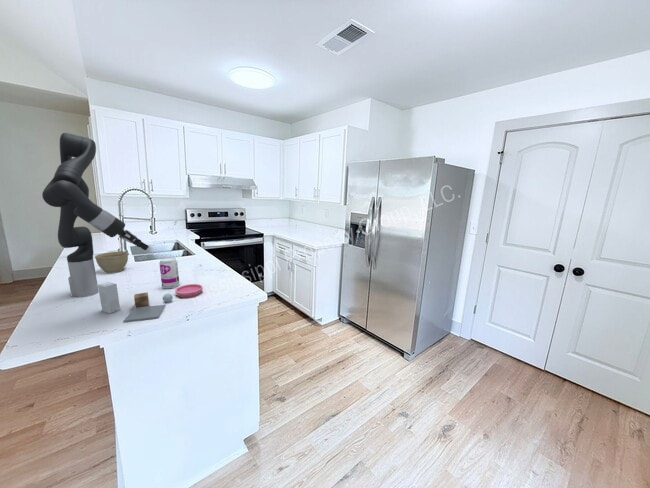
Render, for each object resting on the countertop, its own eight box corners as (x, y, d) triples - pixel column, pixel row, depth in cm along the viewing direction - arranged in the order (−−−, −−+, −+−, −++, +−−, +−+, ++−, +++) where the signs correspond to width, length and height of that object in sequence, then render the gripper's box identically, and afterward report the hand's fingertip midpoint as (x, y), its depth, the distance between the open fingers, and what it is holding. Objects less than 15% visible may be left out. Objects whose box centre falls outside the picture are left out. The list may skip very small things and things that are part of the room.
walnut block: (135, 308, 115) (134, 298, 114) (135, 304, 119) (134, 294, 118) (149, 306, 118) (147, 295, 117) (149, 302, 122) (147, 292, 121)
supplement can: (171, 289, 138) (168, 262, 134) (158, 288, 139) (155, 260, 136) (182, 284, 145) (180, 258, 142) (170, 283, 147) (167, 257, 144)
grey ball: (162, 303, 120) (161, 295, 120) (164, 300, 124) (163, 292, 123) (171, 302, 122) (171, 294, 121) (173, 299, 125) (172, 291, 125)
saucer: (200, 297, 129) (200, 291, 128) (172, 300, 125) (171, 293, 125) (204, 288, 140) (204, 282, 140) (178, 290, 137) (178, 284, 136)
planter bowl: (124, 266, 177) (122, 250, 174) (134, 270, 167) (131, 254, 165) (94, 271, 164) (91, 254, 162) (102, 276, 155) (99, 259, 152)
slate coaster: (123, 322, 103) (123, 320, 103) (134, 309, 114) (133, 307, 114) (158, 318, 107) (158, 316, 107) (165, 306, 118) (165, 304, 118)
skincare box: (120, 309, 114) (117, 283, 111) (109, 313, 110) (105, 286, 108) (112, 306, 116) (108, 281, 114) (101, 310, 113) (97, 284, 110)
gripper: (119, 217, 102) (155, 242, 113) (110, 215, 111) (145, 238, 122) (103, 232, 99) (142, 256, 110) (96, 228, 108) (132, 251, 119)
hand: (143, 247), depth 116 cm, fingers open, 8 cm apart
